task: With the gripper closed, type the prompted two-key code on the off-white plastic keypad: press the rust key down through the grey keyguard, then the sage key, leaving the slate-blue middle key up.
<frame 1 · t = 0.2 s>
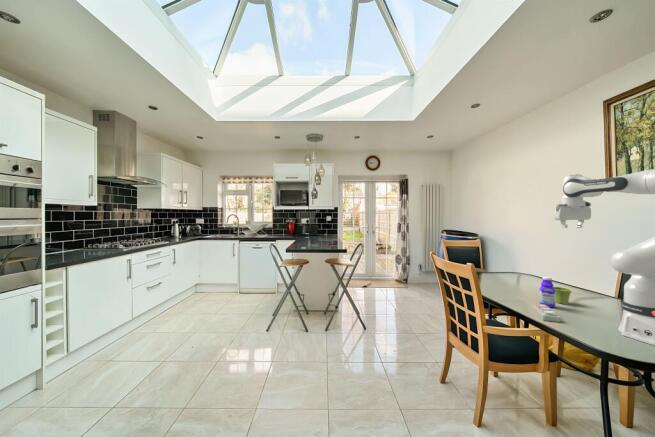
hand: (572, 227, 149), 47 cm above the table, tool pointing down, fingers open, 8 cm apart
key sage: (549, 313, 138), point 3 cm above the table, slide at 0.0 cm
key slate: (545, 310, 142), point 3 cm above the table, slide at 0.0 cm
bottle: (547, 306, 156), on the table
plant pot: (561, 303, 162), on the table
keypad: (545, 315, 142), on the table
key rust: (542, 306, 147), point 3 cm above the table, slide at 0.0 cm
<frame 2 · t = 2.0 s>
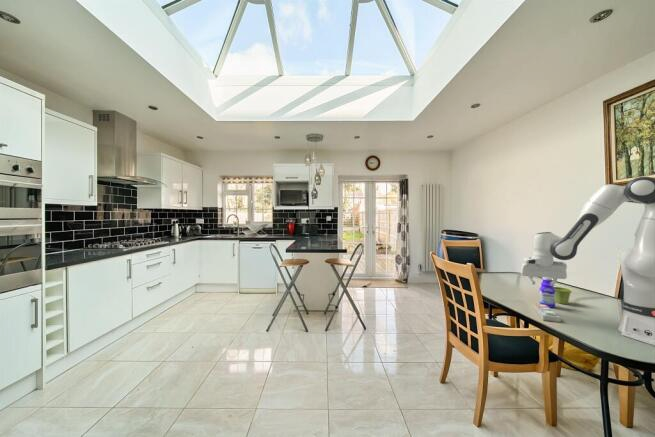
hand: (542, 285, 147), 15 cm above the table, tool pointing down, fingers open, 7 cm apart
nothing on the table moved.
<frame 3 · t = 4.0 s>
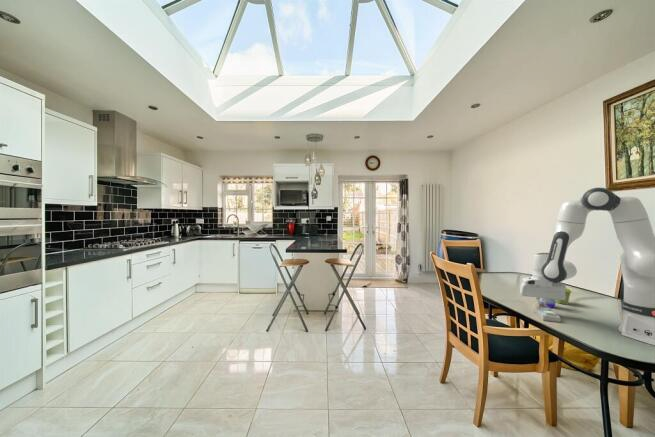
hand: (541, 305, 147), 4 cm above the table, tool pointing down, fingers closed, pressing on key rust
key rust: (542, 307, 147), point 3 cm above the table, slide at 0.1 cm, touching gripper
everything else where it was.
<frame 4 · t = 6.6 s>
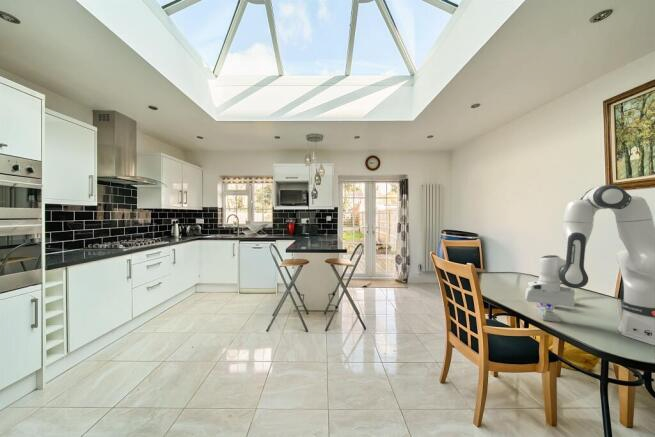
hand: (548, 311, 138), 4 cm above the table, tool pointing down, fingers closed, pressing on key sage
key sage: (549, 313, 138), point 3 cm above the table, slide at 0.1 cm, touching gripper
key rust: (542, 309, 147), point 2 cm above the table, slide at 1.5 cm
everything else where it was.
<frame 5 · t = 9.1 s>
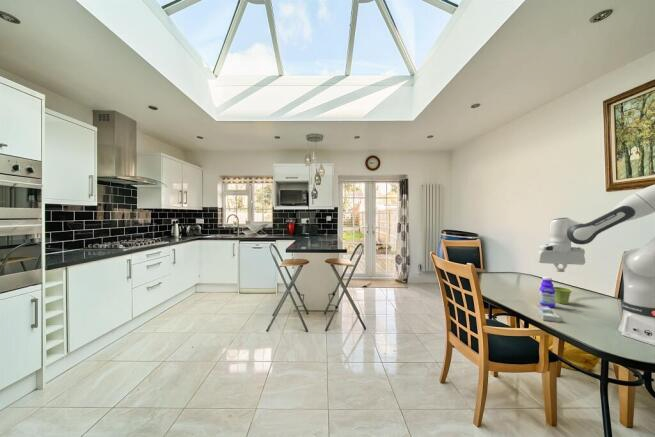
hand: (560, 271, 144), 23 cm above the table, tool pointing down, fingers closed
key sage: (549, 316, 138), point 2 cm above the table, slide at 1.5 cm
everything else where it was.
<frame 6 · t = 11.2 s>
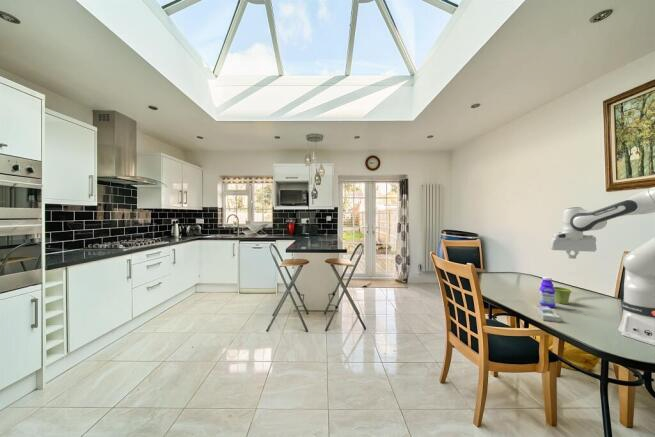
hand: (572, 258, 153), 29 cm above the table, tool pointing down, fingers closed
nothing on the table moved.
at the end: key rust slide at 1.5 cm; key sage slide at 1.5 cm; key slate slide at 0.0 cm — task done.
